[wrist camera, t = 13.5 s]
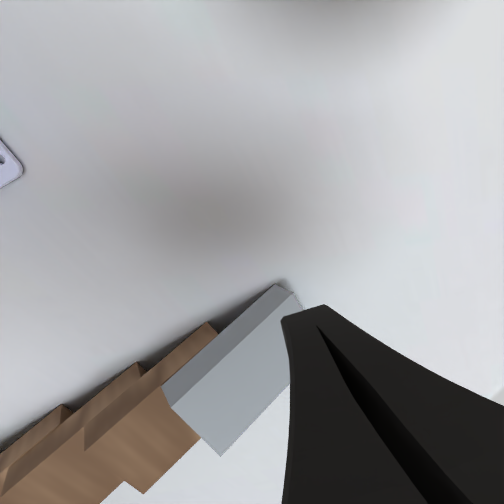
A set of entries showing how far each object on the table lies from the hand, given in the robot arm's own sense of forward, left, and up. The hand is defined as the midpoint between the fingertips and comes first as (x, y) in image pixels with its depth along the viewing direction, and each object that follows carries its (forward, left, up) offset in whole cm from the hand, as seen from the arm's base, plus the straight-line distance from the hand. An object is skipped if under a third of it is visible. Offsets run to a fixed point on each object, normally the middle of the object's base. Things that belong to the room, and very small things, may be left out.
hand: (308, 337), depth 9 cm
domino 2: (+7, -5, -10) cm, 13 cm away
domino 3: (+7, -11, -10) cm, 16 cm away
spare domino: (+7, 0, -10) cm, 12 cm away
